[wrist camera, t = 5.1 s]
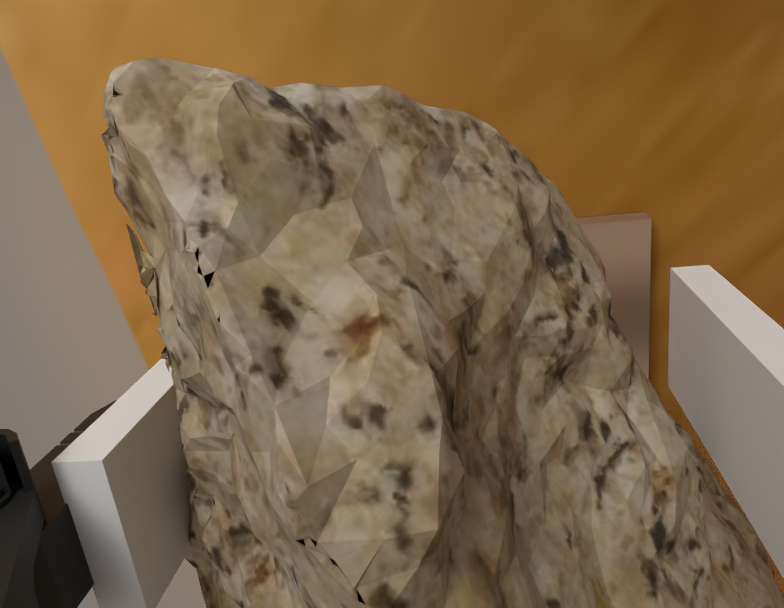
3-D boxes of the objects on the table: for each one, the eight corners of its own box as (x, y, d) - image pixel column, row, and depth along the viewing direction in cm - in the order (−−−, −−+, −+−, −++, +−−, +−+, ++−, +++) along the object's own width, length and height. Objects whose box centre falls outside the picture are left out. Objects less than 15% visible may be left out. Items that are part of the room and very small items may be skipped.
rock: (135, 799, 13) (656, 1328, 6) (-110, 152, 10) (372, -152, 3) (453, 504, 21) (835, 599, 14) (367, 93, 18) (796, -33, 11)
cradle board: (237, 247, 32) (228, 254, 31) (645, 211, 29) (651, 218, 28) (311, 595, 40) (306, 611, 39) (639, 596, 37) (644, 613, 36)
